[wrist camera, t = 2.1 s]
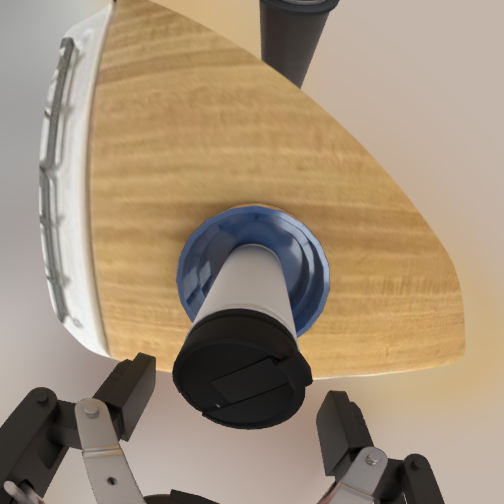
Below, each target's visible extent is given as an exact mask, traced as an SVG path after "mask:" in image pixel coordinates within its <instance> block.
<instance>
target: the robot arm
mask: <svg viewBox="0 0 504 504" xmlns="http://www.w3.org/2000/svg"><path fill="white" fill-rule="evenodd" d="M281 1H284V2H287V3H290V4H296V5H316V4H320V3H323V2H325V1H327V0H281ZM155 374H156V358H155V357H153V356H150V355H147V354H144V353H141V352H140V353H138V354H137V356H136V357H135V359H134V360H133V361H131V360H128V359H126V360H124V361H122V362H120V363H118V365H117V366H116V367H115V369H114V370H113V372H111V374H110V375H109V377H108V378H107V379H106V380H105V381H104V383H103V384H102V385H101V387H100V388H99V389H98V391H97V392H96V393H95V395H94V396H93V397H92V398H86V399H83V400H80V401H79V402H78V403H71V402H66V401H61V400H58V399H57V396H56V394H55V393H54V392H53V391H52V390H50V389H48V388H45V387H39V388H35V389H33V390H31V391H30V392H29V393H28V395H27V396H26V397H25V398H24V399H23V401H22V402H21V403H20V404H19V405H18V406H17V408H16V409H15V410H14V411H13V413H12V414H11V415H10V416H9V417H8V419H7V420H6V421H5V422H4V424H3V425H2V426H1V428H0V504H46V503H45V502H44V500H43V497H44V495H45V493H46V491H47V489H48V487H49V485H50V483H51V481H52V479H53V477H54V475H55V473H56V471H57V469H58V468H59V465H60V464H61V462H62V460H63V458H64V456H65V455H66V452H67V451H68V449H69V447H72V448H76V449H81V450H83V452H82V456H83V460H84V463H85V467H86V471H87V474H88V478H89V480H90V484H91V487H92V490H93V493H94V496H95V498H96V501H97V504H219V503H216V502H213V501H211V500H209V499H206V498H204V497H201V496H198V495H194V494H189V493H185V492H181V491H177V490H173V489H172V490H171V493H170V495H169V494H157V495H149V496H145V497H143V496H142V494H141V492H140V490H139V487H138V485H137V483H136V481H135V479H134V477H133V474H132V472H131V470H130V467H129V465H128V462H127V460H126V457H125V455H124V453H123V450H122V449H121V447H120V444H119V441H120V439H122V440H125V441H127V442H128V441H129V438H130V437H131V435H132V433H133V431H134V429H135V427H136V425H137V423H138V421H139V419H140V417H141V415H142V413H143V411H144V409H145V407H146V405H147V403H148V401H149V399H150V397H151V395H152V393H153V391H154V387H155V379H156V378H155V376H156V375H155ZM365 424H366V423H365V420H364V419H363V415H362V412H361V410H360V408H359V407H358V406H357V405H356V404H355V403H354V402H350V401H349V399H348V396H347V393H346V392H345V391H331V390H330V391H329V392H328V393H327V395H326V397H325V399H324V401H323V403H322V405H321V407H320V409H319V411H318V413H317V418H316V425H317V430H318V436H319V441H320V446H321V452H322V458H323V463H324V469H325V475H326V476H335V481H334V482H333V483H332V485H331V486H330V487H329V489H328V490H327V492H326V493H325V494H324V495H323V497H322V498H321V499H320V500H319V502H318V503H317V504H372V503H373V501H374V504H406V502H407V504H445V503H444V500H443V498H442V495H441V492H440V490H439V487H438V484H437V482H436V479H435V477H434V474H433V472H432V469H431V467H430V464H429V462H428V460H427V459H426V458H425V457H424V456H422V455H420V454H410V455H408V456H407V457H406V458H405V459H404V460H395V459H390V458H387V456H386V454H385V453H384V452H383V451H382V450H381V449H378V448H376V447H374V445H373V442H372V439H371V436H370V434H369V431H368V428H367V426H366V425H365ZM404 494H405V497H404ZM405 498H406V501H405Z"/></svg>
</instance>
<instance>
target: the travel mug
mask: <svg viewBox="0 0 504 504" xmlns="http://www.w3.org/2000/svg"><path fill="white" fill-rule="evenodd" d="M172 374H173V382H174V384H175V386H176V387H177V389H178V391H179V393H181V394H182V396H183V397H184V398H185V399H186V401H187V402H188V403H189V404H190V405H192V406H193V407H194V408H195V409H196V410H198V411H201V412H203V413H202V416H204V417H206V418H208V419H209V420H211V421H213V422H215V423H217V424H220V425H223V426H226V427H231V428H236V429H247V430H250V429H263V428H268V427H272V426H275V425H278V424H281V423H282V422H284V421H286V420H288V419H289V418H291V417H292V416H293V415H294V414H295V413H296V412H297V411H298V410H299V408H300V407H301V405H302V403H303V401H304V398H305V387H307V386H309V385H311V384H312V382H313V379H312V374H311V368H310V366H309V364H308V363H307V361H306V360H305V358H304V357H303V356H302V354H301V353H300V350H299V346H298V340H297V335H296V331H295V326H294V321H293V316H292V311H291V307H290V302H289V297H288V293H287V288H286V283H285V279H284V274H283V270H282V265H281V262H280V259H279V257H278V255H277V254H276V253H275V251H274V250H272V249H271V248H270V247H268V246H267V245H265V244H262V243H258V242H247V243H244V244H241V245H239V246H237V247H236V248H234V249H233V250H232V251H231V252H230V254H229V255H228V257H227V259H226V261H225V263H224V264H223V266H222V268H221V270H220V272H219V274H218V276H217V278H216V280H215V282H214V284H213V285H212V287H211V289H210V291H209V293H208V295H207V297H206V299H205V301H204V303H203V305H202V307H201V309H200V310H199V312H198V314H197V316H196V318H195V320H194V322H193V324H192V326H191V328H190V330H189V332H188V334H187V336H186V339H185V342H184V345H183V346H182V348H181V350H180V352H179V354H178V356H177V358H176V360H175V362H174V366H173V371H172Z"/></svg>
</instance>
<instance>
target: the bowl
mask: <svg viewBox="0 0 504 504" xmlns="http://www.w3.org/2000/svg"><path fill="white" fill-rule="evenodd" d="M247 242H258V243H262V244H265V245H267V246H268V247H270V248H271V249H272V250H274V251H275V253H276V254H277V255H278V257H279V259H280V262H281V265H282V270H283V274H284V279H285V283H286V288H287V293H288V297H289V302H290V307H291V311H292V316H293V321H294V326H295V331H296V335H297V338H298V337H300V336H301V335H302V334H304V333H305V332H306V331H308V330H309V329H310V328H311V327H312V325H313V324H314V322H315V321H316V320H317V318H318V317H319V316H320V314H321V313H322V311H323V309H324V306H325V303H326V300H327V297H328V293H329V290H330V274H329V264H328V261H327V259H326V256H325V253H324V251H323V248H322V246H321V244H320V242H319V241H318V240H317V239H316V237H315V236H314V235H313V234H312V233H311V231H310V230H309V229H308V228H307V227H306V226H305V225H304V224H303V223H302V222H301V221H300V220H299V219H298V218H296V217H295V216H293V215H291V214H290V213H288V212H286V211H285V210H283V209H281V208H279V207H276V206H271V205H267V204H262V203H250V204H241V205H235V206H233V207H231V208H229V209H227V210H224V211H222V212H220V213H218V214H216V215H214V216H212V217H211V218H209V219H207V220H206V221H205V222H204V223H203V224H202V225H201V226H200V227H199V228H198V229H197V230H196V231H195V232H194V233H192V234H191V235H190V237H189V238H188V240H187V242H186V244H185V246H184V248H183V250H182V252H181V254H180V256H179V261H178V269H177V277H176V283H177V288H178V292H179V297H180V302H181V304H182V306H183V307H184V309H185V311H186V313H187V315H188V316H189V318H190V320H191V321H192V322H194V320H195V318H196V316H197V314H198V312H199V310H200V309H201V307H202V305H203V303H204V301H205V299H206V297H207V295H208V293H209V291H210V289H211V287H212V285H213V284H214V282H215V280H216V278H217V276H218V274H219V272H220V270H221V268H222V266H223V264H224V263H225V261H226V259H227V257H228V255H229V254H230V252H231V251H232V250H233V249H234V248H236V247H237V246H239V245H241V244H244V243H247Z"/></svg>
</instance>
